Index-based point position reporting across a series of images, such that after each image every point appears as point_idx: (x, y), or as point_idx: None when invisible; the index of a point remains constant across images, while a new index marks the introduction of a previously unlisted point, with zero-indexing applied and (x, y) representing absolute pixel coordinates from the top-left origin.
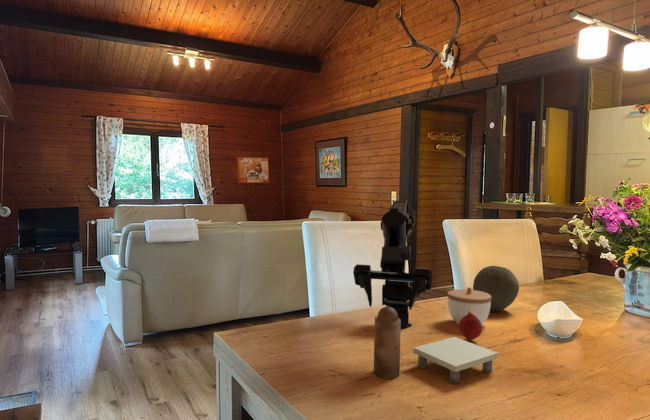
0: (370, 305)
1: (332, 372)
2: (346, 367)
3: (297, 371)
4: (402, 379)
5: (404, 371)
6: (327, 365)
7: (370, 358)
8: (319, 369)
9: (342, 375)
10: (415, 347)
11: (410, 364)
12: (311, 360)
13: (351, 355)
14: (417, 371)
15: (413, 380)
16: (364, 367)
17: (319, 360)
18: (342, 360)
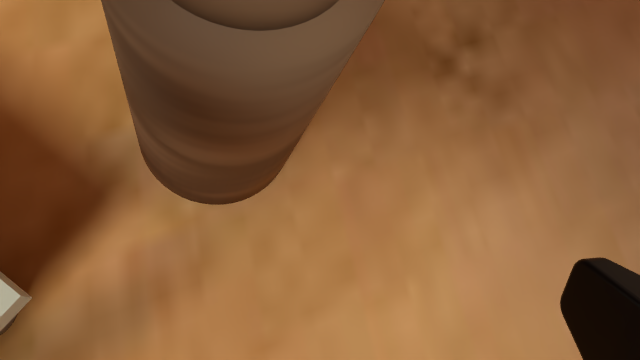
0: (576, 274)
1: (486, 69)
2: (443, 147)
3: (628, 38)
4: (115, 81)
5: (110, 193)
6: (538, 142)
7: (350, 324)
8: (553, 85)
9: (431, 48)
10: (2, 304)
11: (74, 320)
12: (632, 179)
13: (471, 328)
14: (22, 219)
15: (48, 84)
16: (353, 176)
17: (598, 192)
18: (493, 233)
